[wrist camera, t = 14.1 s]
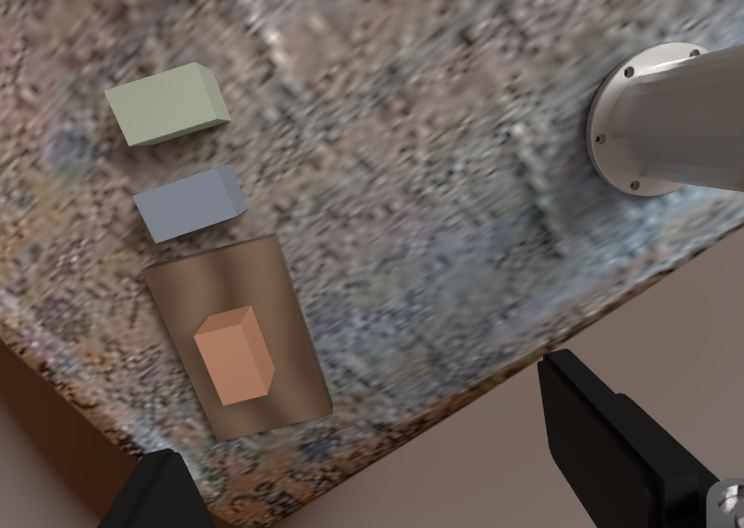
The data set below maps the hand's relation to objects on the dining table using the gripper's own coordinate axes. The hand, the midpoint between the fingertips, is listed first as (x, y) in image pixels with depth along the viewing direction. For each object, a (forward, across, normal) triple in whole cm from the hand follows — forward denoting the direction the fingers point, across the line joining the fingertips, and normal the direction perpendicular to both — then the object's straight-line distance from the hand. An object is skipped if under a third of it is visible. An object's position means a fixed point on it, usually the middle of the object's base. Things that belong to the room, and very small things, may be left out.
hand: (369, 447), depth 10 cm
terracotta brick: (+27, +13, +8) cm, 31 cm away
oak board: (+28, +13, +8) cm, 32 cm away
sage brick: (+28, +11, -13) cm, 33 cm away
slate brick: (+28, +12, -6) cm, 32 cm away
